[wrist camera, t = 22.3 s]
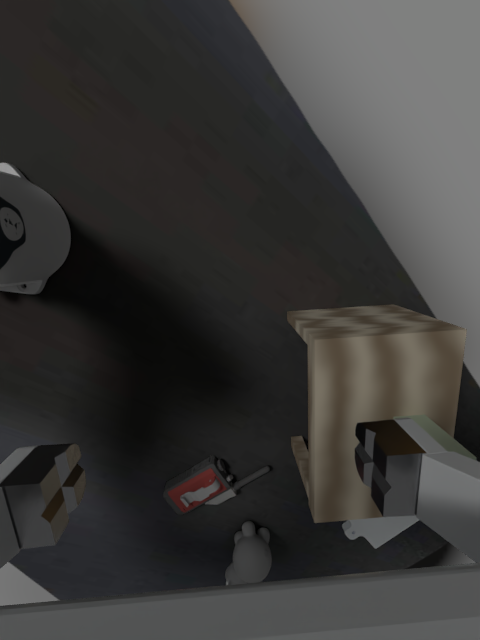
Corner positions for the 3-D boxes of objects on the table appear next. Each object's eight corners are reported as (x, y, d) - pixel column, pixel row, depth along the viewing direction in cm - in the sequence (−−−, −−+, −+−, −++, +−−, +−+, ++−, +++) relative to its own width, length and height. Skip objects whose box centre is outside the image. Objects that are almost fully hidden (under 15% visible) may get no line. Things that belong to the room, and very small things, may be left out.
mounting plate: (399, 457, 58) (405, 463, 57) (433, 498, 61) (439, 506, 59) (325, 508, 60) (328, 517, 59) (361, 546, 63) (365, 555, 61)
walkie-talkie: (184, 515, 59) (271, 466, 58) (180, 535, 55) (274, 484, 53) (158, 483, 57) (247, 432, 56) (152, 502, 53) (249, 447, 52)
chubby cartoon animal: (211, 553, 61) (209, 600, 53) (246, 512, 59) (249, 555, 51) (239, 568, 63) (241, 616, 54) (275, 529, 61) (282, 573, 52)
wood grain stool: (290, 447, 56) (314, 523, 41) (287, 311, 50) (314, 339, 35) (384, 439, 57) (444, 511, 41) (393, 304, 51) (466, 329, 35)
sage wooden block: (391, 448, 39) (432, 498, 31) (393, 416, 38) (437, 460, 30) (421, 445, 39) (470, 495, 31) (425, 414, 38) (476, 457, 30)
